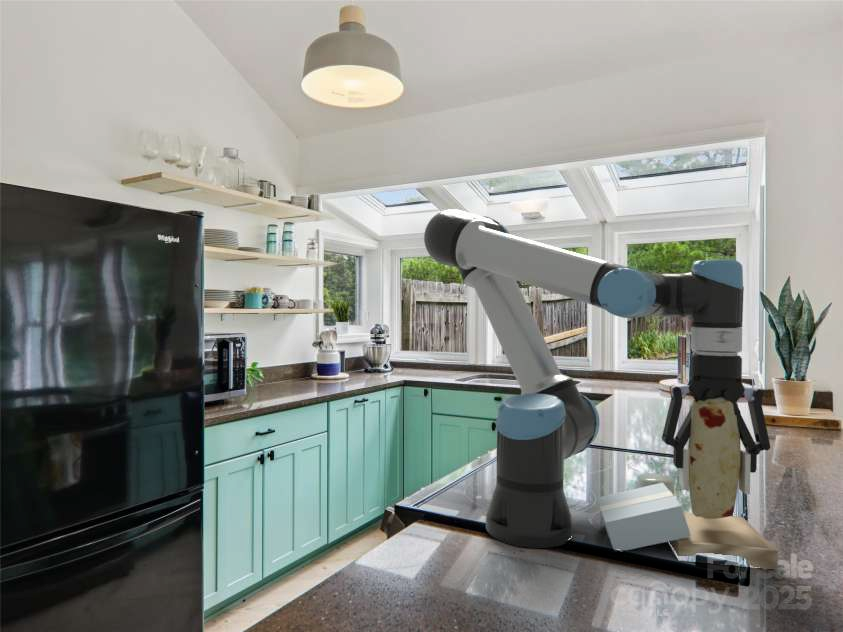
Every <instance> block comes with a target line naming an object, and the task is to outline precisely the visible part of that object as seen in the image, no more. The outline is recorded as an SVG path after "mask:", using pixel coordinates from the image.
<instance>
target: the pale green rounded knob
mask: <svg viewBox="0 0 843 632" xmlns="http://www.w3.org/2000/svg"><path fill="white" fill-rule="evenodd" d="M659 483H664V485H665V486H666V487H667V488H668V490H669V491H671V493H672V494H673V495H674V496H675V479H674V478H673V477H671V476H668V475H666V474H660V473H652V472H651V473H647V472H646V473H641V474H639V475H638V476H637V488H641V487H645V486H650V485H654V484H659Z"/></svg>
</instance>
